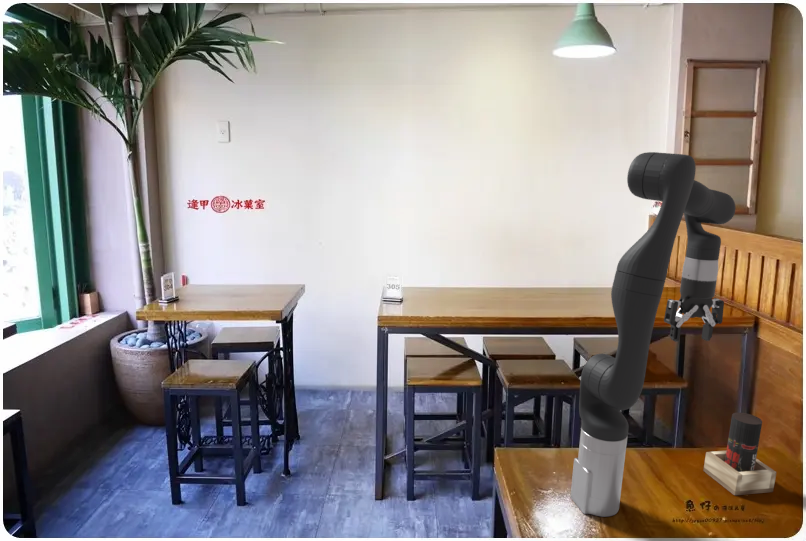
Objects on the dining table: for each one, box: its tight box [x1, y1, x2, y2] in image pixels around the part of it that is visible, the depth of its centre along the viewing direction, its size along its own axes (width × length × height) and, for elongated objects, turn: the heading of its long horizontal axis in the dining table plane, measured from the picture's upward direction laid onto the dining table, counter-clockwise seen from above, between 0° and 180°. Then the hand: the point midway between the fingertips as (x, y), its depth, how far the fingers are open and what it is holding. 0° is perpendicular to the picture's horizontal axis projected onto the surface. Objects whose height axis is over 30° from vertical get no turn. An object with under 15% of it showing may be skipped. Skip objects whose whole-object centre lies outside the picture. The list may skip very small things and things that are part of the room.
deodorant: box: [725, 412, 763, 472], centre depth 128 cm, size 6×6×15 cm
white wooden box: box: [702, 450, 777, 496], centre depth 129 cm, size 10×10×5 cm
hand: (690, 340), depth 136 cm, fingers open, 8 cm apart
